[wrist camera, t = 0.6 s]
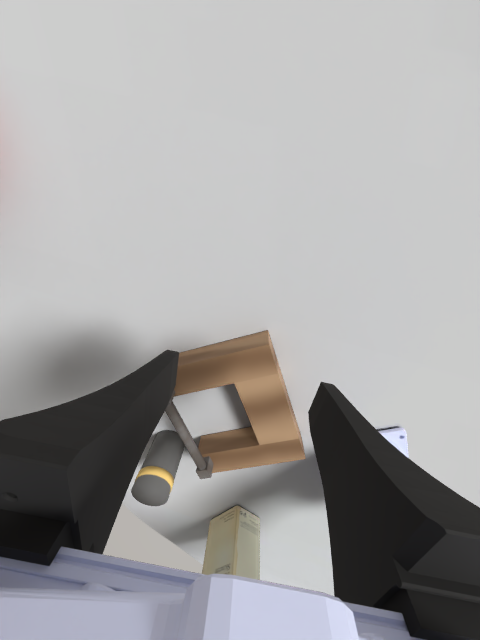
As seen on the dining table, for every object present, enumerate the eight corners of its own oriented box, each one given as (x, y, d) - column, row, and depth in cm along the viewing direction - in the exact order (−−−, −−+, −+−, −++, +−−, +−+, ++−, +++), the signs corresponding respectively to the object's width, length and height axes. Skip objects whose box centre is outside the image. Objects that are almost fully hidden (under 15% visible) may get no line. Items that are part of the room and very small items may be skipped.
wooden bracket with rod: (301, 438, 28) (308, 473, 24) (210, 453, 30) (203, 487, 26) (267, 330, 22) (269, 354, 19) (159, 357, 24) (142, 384, 21)
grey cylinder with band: (190, 449, 30) (174, 504, 24) (163, 454, 30) (141, 508, 25) (177, 427, 28) (158, 480, 23) (149, 432, 29) (123, 485, 24)
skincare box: (237, 503, 33) (226, 649, 22) (261, 517, 34) (262, 664, 23) (208, 520, 36) (185, 661, 25) (231, 533, 37) (220, 675, 26)
